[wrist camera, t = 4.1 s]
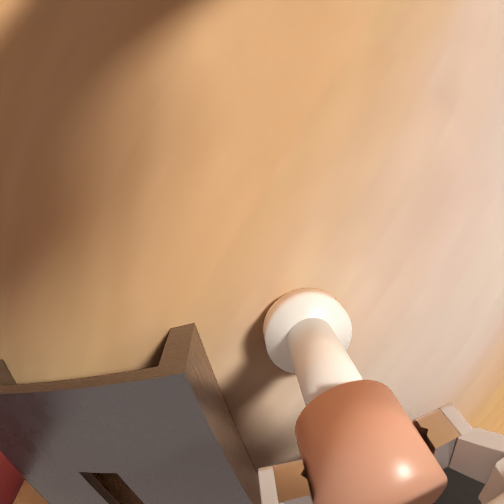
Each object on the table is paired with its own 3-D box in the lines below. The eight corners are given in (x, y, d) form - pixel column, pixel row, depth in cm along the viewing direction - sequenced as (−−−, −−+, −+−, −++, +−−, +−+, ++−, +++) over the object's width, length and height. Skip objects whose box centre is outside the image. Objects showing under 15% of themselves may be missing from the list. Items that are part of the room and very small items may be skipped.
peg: (254, 300, 18) (293, 506, 6) (337, 277, 18) (473, 435, 6) (273, 369, 19) (314, 556, 7) (347, 347, 19) (443, 509, 7)
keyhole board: (122, 523, 25) (115, 556, 20) (-8, 360, 18) (-40, 394, 14) (277, 514, 25) (283, 552, 20) (194, 323, 18) (184, 372, 14)
